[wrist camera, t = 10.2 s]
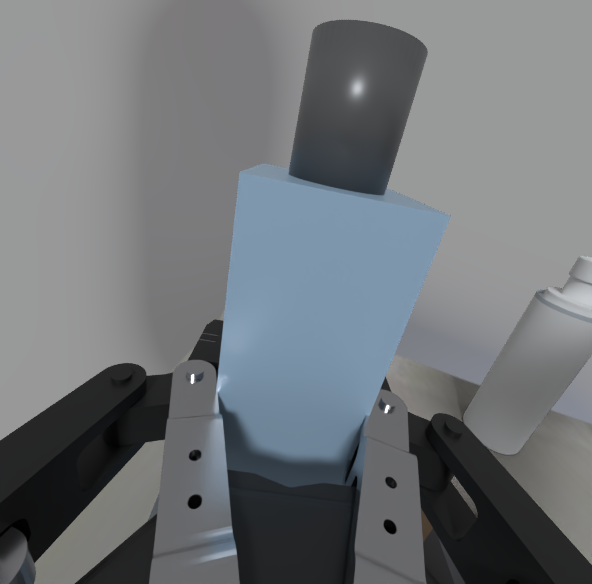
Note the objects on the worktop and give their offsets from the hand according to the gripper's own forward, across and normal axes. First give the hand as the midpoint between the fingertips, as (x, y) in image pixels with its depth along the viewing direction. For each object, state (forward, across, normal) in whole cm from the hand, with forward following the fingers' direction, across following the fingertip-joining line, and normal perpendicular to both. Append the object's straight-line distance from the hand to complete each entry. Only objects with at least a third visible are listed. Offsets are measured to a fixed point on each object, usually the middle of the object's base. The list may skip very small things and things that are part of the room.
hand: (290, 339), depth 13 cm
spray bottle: (+17, -29, +20) cm, 39 cm away
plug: (-3, 0, +9) cm, 9 cm away
